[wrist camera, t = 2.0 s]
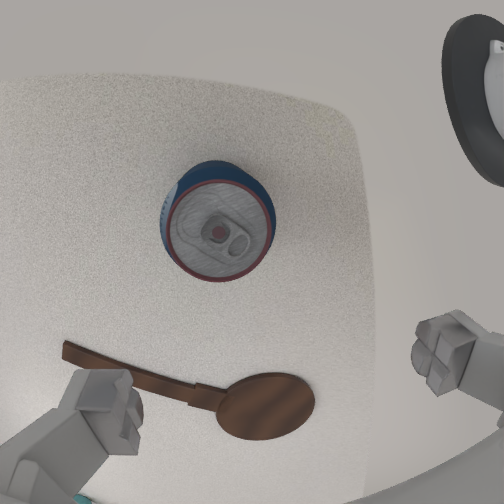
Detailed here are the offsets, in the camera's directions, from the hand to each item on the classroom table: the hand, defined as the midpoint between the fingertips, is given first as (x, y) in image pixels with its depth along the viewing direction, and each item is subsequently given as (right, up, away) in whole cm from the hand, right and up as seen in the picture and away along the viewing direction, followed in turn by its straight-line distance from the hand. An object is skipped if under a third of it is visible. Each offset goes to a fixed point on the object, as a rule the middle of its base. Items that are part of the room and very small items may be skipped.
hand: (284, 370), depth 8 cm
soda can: (-4, +8, +20) cm, 22 cm away
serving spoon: (-8, -14, +27) cm, 31 cm away
